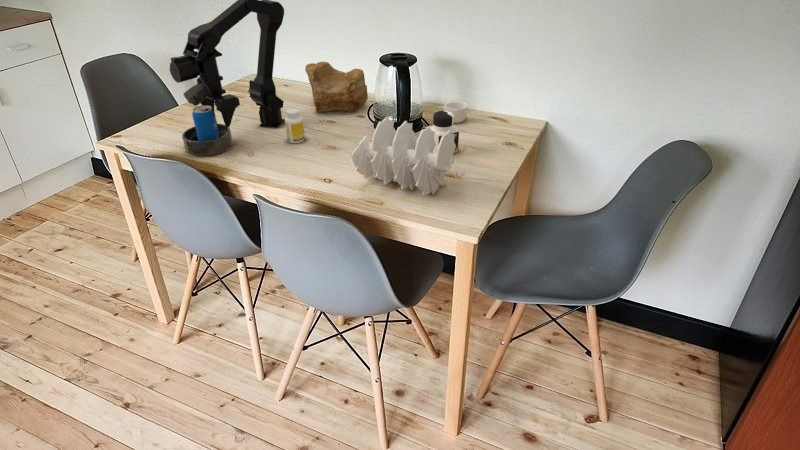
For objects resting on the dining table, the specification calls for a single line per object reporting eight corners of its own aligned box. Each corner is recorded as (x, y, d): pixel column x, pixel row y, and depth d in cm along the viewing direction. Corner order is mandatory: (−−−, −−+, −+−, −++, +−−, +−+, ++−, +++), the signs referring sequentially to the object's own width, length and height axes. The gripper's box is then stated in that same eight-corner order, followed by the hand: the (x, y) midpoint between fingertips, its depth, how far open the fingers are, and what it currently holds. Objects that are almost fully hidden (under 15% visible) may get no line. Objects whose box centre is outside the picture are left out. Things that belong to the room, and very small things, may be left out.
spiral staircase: (377, 180, 155) (456, 196, 145) (344, 181, 140) (430, 199, 129) (386, 117, 152) (468, 129, 142) (353, 111, 137) (442, 123, 126)
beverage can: (215, 150, 163) (206, 113, 157) (196, 148, 165) (186, 112, 158) (225, 141, 169) (217, 105, 162) (206, 140, 170) (198, 104, 163)
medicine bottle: (438, 157, 159) (439, 119, 152) (426, 148, 164) (426, 111, 157) (458, 152, 161) (460, 114, 155) (446, 143, 167) (447, 106, 160)
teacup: (469, 118, 184) (470, 103, 181) (463, 126, 178) (464, 111, 175) (442, 114, 187) (442, 99, 184) (434, 122, 181) (435, 107, 178)
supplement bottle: (308, 138, 172) (304, 109, 166) (298, 144, 167) (294, 115, 162) (294, 135, 173) (290, 106, 168) (284, 141, 169) (280, 112, 164)
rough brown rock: (293, 114, 191) (286, 74, 181) (315, 95, 203) (310, 56, 193) (351, 125, 184) (348, 84, 174) (371, 104, 196) (369, 65, 186)
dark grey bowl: (240, 139, 171) (238, 124, 169) (219, 159, 160) (216, 143, 157) (200, 136, 174) (197, 121, 171) (176, 155, 162) (172, 140, 160)
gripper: (168, 74, 158) (180, 123, 167) (201, 87, 148) (213, 139, 156) (201, 65, 165) (212, 113, 174) (235, 77, 154) (245, 127, 163)
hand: (219, 123), depth 166 cm, fingers open, 9 cm apart
